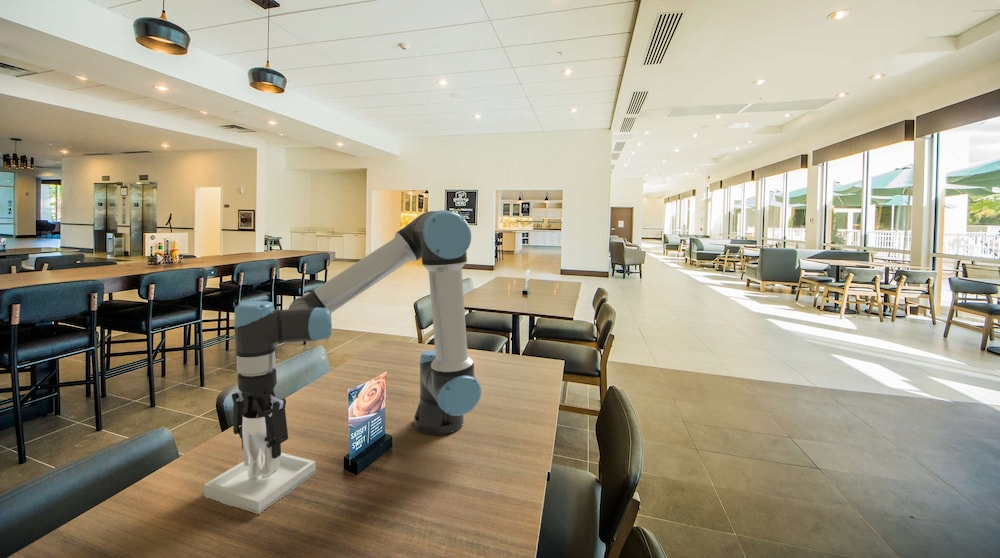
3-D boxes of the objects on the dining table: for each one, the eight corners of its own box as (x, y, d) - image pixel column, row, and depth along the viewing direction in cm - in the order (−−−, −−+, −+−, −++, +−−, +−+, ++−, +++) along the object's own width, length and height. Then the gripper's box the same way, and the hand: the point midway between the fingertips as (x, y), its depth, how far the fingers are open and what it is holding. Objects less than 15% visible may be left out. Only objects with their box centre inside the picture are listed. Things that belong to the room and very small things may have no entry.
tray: (316, 472, 102) (315, 461, 101) (259, 515, 87) (258, 502, 86) (266, 459, 107) (265, 448, 106) (204, 497, 92) (203, 484, 91)
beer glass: (264, 484, 92) (260, 420, 90) (237, 479, 94) (233, 416, 92) (286, 466, 99) (283, 407, 97) (260, 462, 100) (257, 403, 98)
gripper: (304, 371, 93) (307, 466, 96) (240, 359, 100) (245, 449, 103) (276, 382, 86) (281, 485, 89) (209, 369, 93) (216, 466, 96)
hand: (262, 466), depth 96 cm, fingers closed on beer glass, 6 cm apart
